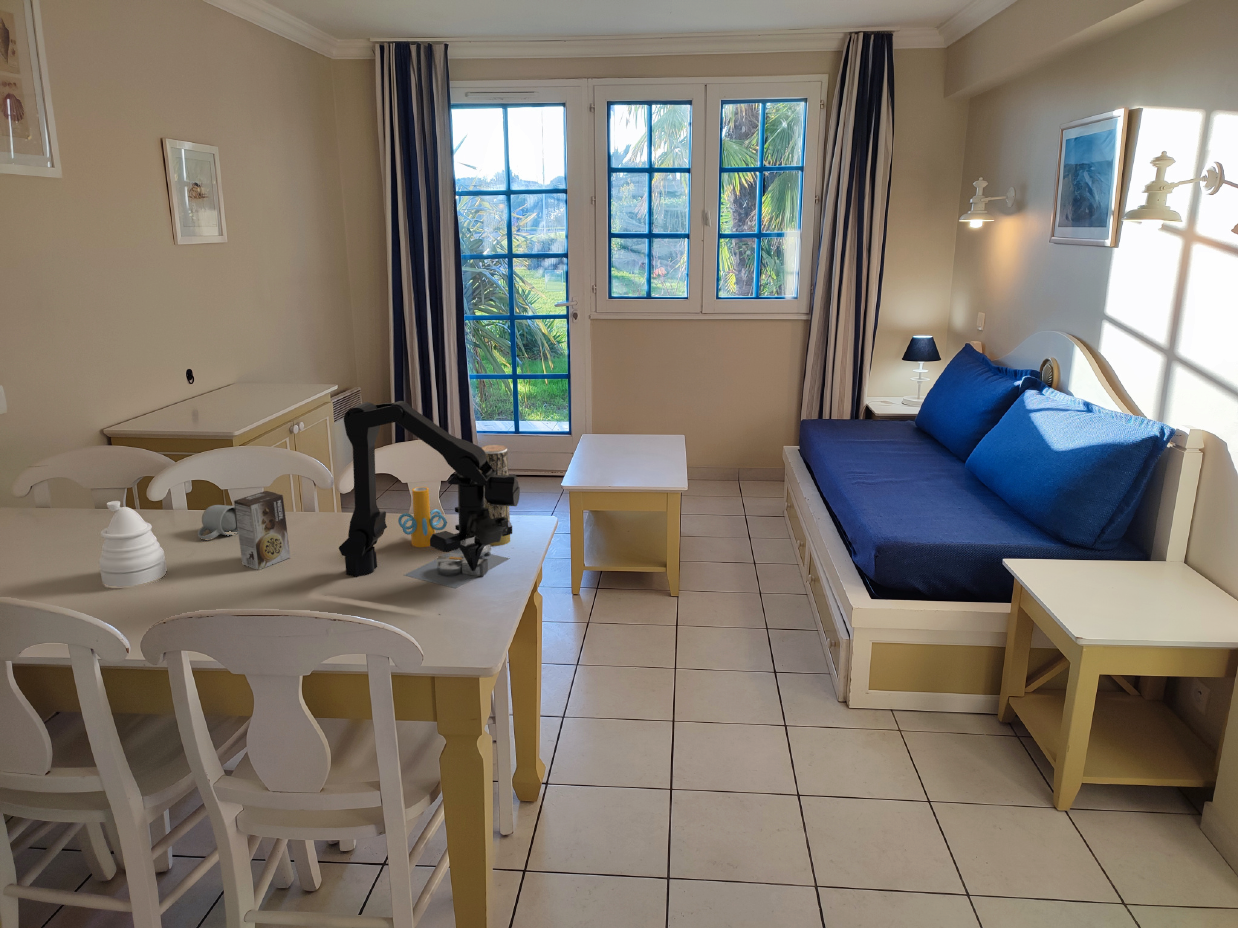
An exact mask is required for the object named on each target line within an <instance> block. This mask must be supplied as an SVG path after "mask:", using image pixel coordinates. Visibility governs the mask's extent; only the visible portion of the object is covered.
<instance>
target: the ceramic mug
mask: <svg viewBox="0 0 1238 928" xmlns="http://www.w3.org/2000/svg"><path fill="white" fill-rule="evenodd" d="M201 524H202V526H201V527H200V528H199V529H198V531H197V536H198V538H199V539H200V538H202V539H211V538H213V539H215V538H217V537H218V536H219V535H223V536H226V535H227V537H230V536H229V535H232V534H226V533H225V532H229V531H231V532H237V533H238V527H237V519H236V512H235V505H223V504H214V505H211V506H208V507H207V508H205V510H204V511H203V513H202V516H201ZM206 531H208V532H210V533H209V534H206V535H203V534H204V533H205V532H206ZM234 534H236V533H234ZM236 535H237V534H236ZM211 540H212V539H211Z"/></svg>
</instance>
